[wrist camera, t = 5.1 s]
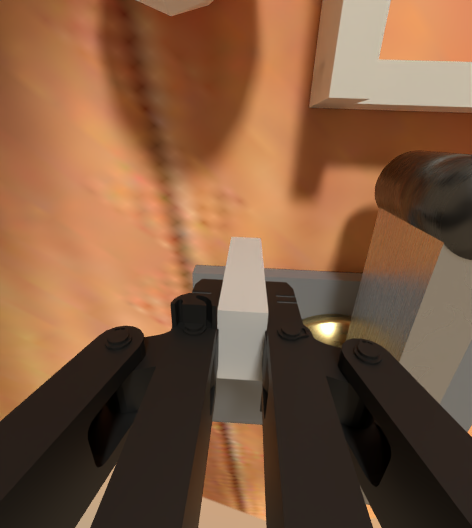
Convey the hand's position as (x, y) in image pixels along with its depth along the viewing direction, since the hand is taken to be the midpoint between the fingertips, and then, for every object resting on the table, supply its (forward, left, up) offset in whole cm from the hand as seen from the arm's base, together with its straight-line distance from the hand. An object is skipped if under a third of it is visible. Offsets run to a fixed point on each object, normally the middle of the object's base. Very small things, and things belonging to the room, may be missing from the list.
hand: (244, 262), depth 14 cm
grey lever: (+6, -4, -2) cm, 8 cm away
